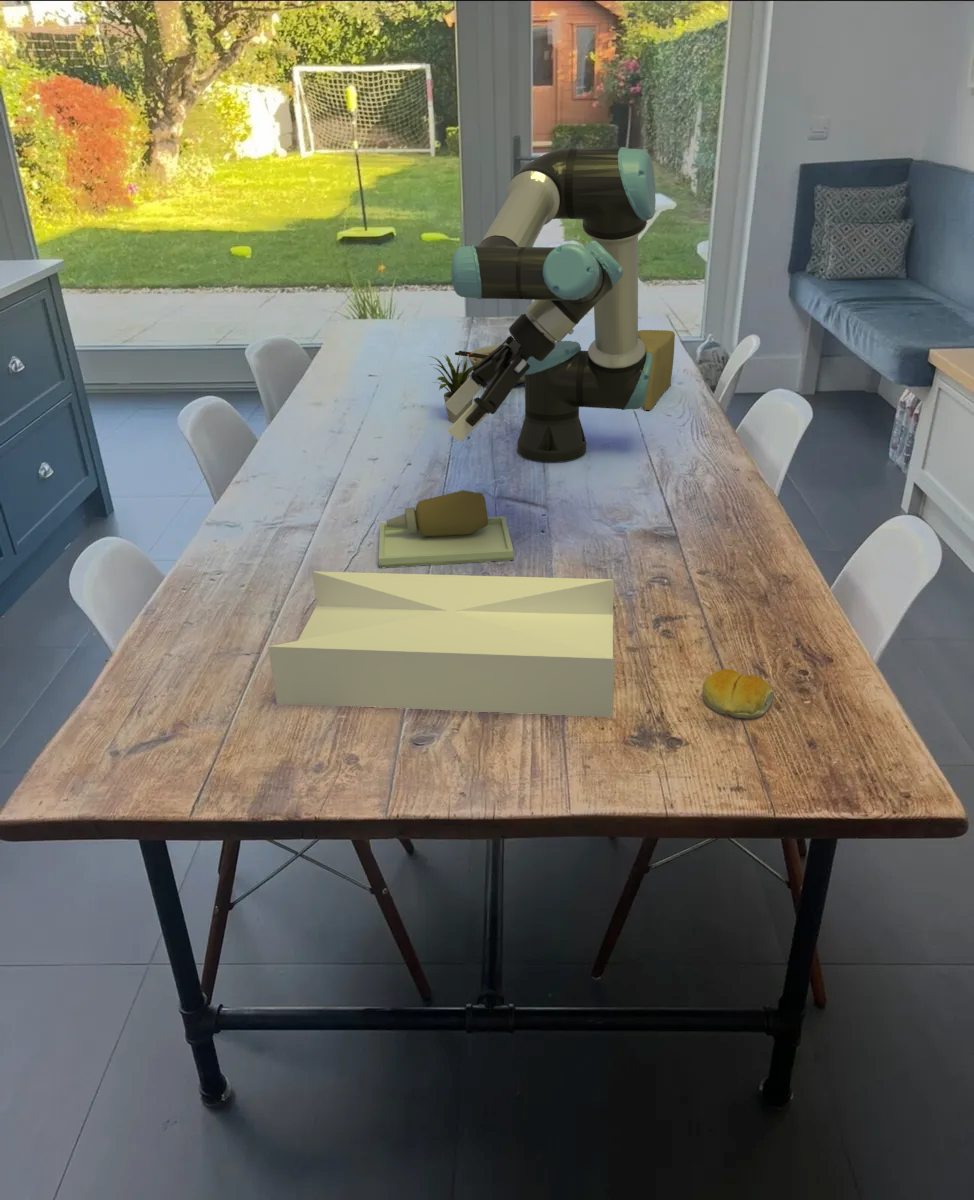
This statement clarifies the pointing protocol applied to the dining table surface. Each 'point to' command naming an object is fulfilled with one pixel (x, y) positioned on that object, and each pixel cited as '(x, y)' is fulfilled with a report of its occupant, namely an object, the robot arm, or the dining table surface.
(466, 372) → the house plant
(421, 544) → the tray
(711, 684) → the bread roll
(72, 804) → the dining table surface
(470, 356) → the ramen bowl
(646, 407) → the cheese
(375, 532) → the dining table surface
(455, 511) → the squeeze bottle
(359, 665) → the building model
